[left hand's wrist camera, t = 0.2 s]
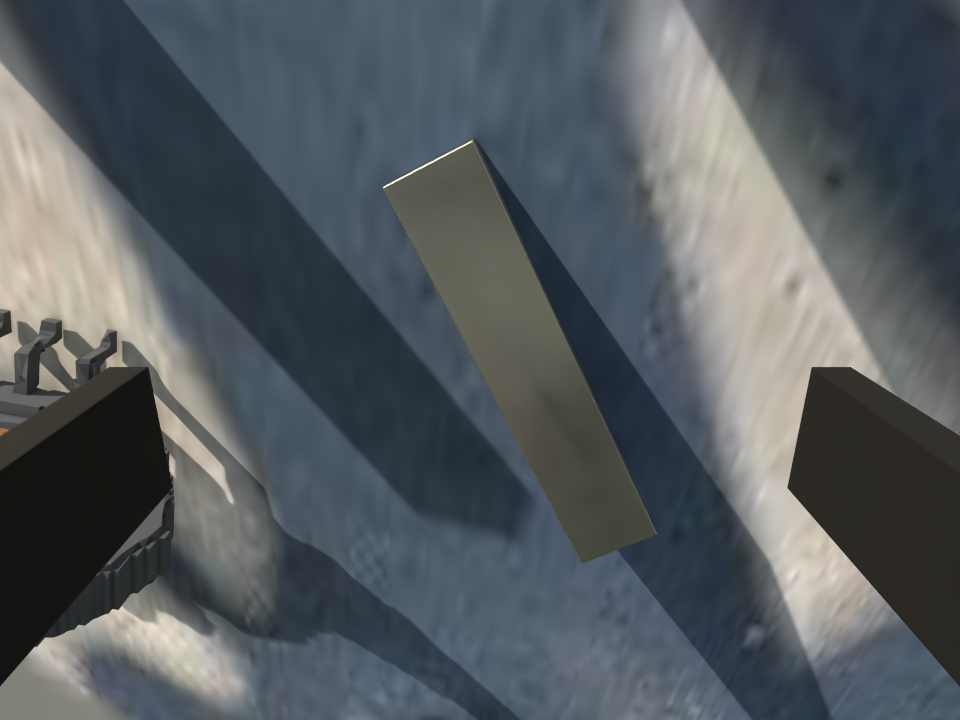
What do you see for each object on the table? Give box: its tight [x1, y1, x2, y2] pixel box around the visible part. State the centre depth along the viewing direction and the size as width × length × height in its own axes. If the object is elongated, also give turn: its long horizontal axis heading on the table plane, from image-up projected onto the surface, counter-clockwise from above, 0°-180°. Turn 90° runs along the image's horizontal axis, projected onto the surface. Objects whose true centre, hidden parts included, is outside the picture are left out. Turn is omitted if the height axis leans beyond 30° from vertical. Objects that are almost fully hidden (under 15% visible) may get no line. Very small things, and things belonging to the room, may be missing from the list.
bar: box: [383, 137, 657, 563], centre depth 36 cm, size 24×5×9 cm, turn 26°
